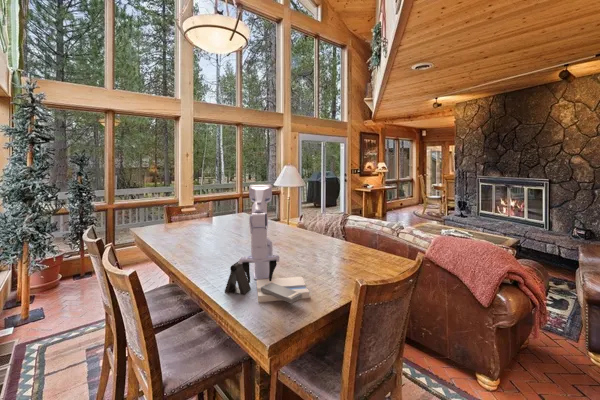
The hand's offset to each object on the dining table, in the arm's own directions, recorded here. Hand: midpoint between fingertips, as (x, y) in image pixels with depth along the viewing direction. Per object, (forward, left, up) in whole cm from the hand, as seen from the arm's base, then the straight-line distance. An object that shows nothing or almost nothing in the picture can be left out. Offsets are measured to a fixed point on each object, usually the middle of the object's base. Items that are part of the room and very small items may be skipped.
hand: (259, 281), depth 107 cm
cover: (-2, +8, -7) cm, 10 cm away
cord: (-8, +14, -9) cm, 18 cm away
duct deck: (-11, +9, -9) cm, 17 cm away
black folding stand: (-14, -9, -10) cm, 19 cm away
